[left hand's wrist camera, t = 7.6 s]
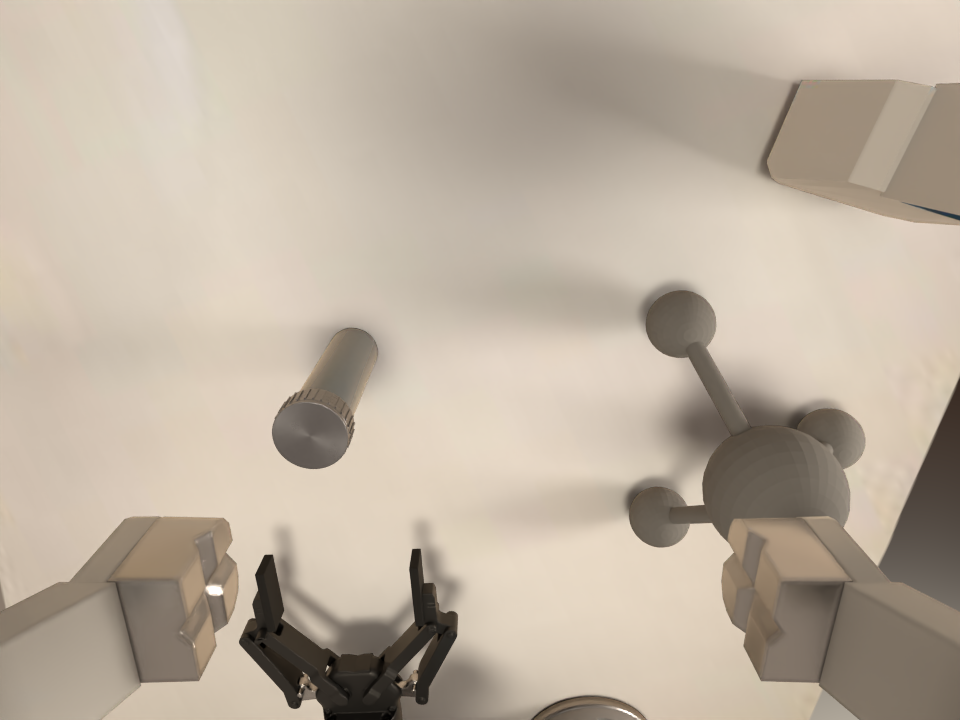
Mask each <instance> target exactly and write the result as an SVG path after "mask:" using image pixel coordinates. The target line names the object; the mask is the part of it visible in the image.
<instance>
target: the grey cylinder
mask: <svg viewBox="0 0 960 720" xmlns="http://www.w3.org/2000/svg"><path fill="white" fill-rule="evenodd" d="M377 355H378V349H377V345H376V343H375V341H374V339H373V338H372V337H371V336H370V335H369V334H368V333H366V332H365V331H363V330H360V329H356V328H348V329H344V330H342V331H340V332H338V333H337V334H336V335H335V336H334V337H333V339H332V340H331V342H330V343H329V345H328V347H327V348H326V350H325V351H324V353H323V355H322V356H321V358H320V359H319V361H318V363H317V364H316V366H315V367H314V369H313V371H312V372H311V374H310V375H309V377H308V379H307V380H306V382H305V383H304V385H303V387H302V388H301V390H306V389H309V388H311V389H317V388H319V389H323V390H327V391H329V392H332V393H334V394H336V395H337V396H339V397H341V399H342V400H343V401H344V402H346V403H347V405H348V407H349V408H350V409H351V412H352V415H353V416H354V413H355V411H356V409H357V406H358V404H359V401H360V399H361V396H362V394H363V391H364V389H365V386H366V384H367V381H368V379H369V376H370V374H371V371H372V369H373V366H374V364H375V361H376V359H377ZM301 390H300V391H301ZM300 391H299V392H300Z"/></svg>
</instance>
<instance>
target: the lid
mask: <svg viewBox="0 0 960 720" xmlns="http://www.w3.org/2000/svg"><path fill="white" fill-rule="evenodd" d="M353 417H354V416H353V415H352V412H351V409H350V408H349V407H348V405H347V403H346V402H344V401H343V400H342V399H341V397H339V396H337V395H336V394H334V393H332V392H329V391H327V390H323V389H319V388H317V389H311V388H309V389H306V390H301V391H300V392H297V393H295V394H294V395H293V396H291V397H289V398H288V399H287V401H286V402H284V404H283V405H282V407H281V408H280V410H279V411H278V414H277V415H276V417H275V421H274V424H273V428H272V436H273V441H274V444H275V446H276V448H277V450H278V451H279V452H280V454H281V455H282V456H283V457H284V458H285V459H287V460H288V461H289V462H291V463H293V464H295V465H297V466H300V467H303V468H308V469H320V468H325V467H328V466H330V465H332V464H334V463H335V462H337V461H338V460H339V459H340V458H341V457H342V456H343V455H344V454H345V452H346V449H347V447H349V444H350V442H351V439H352V437H353V436H352V435H353V433H354V430H355V429H354V425H355V422H354V419H353Z"/></svg>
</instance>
